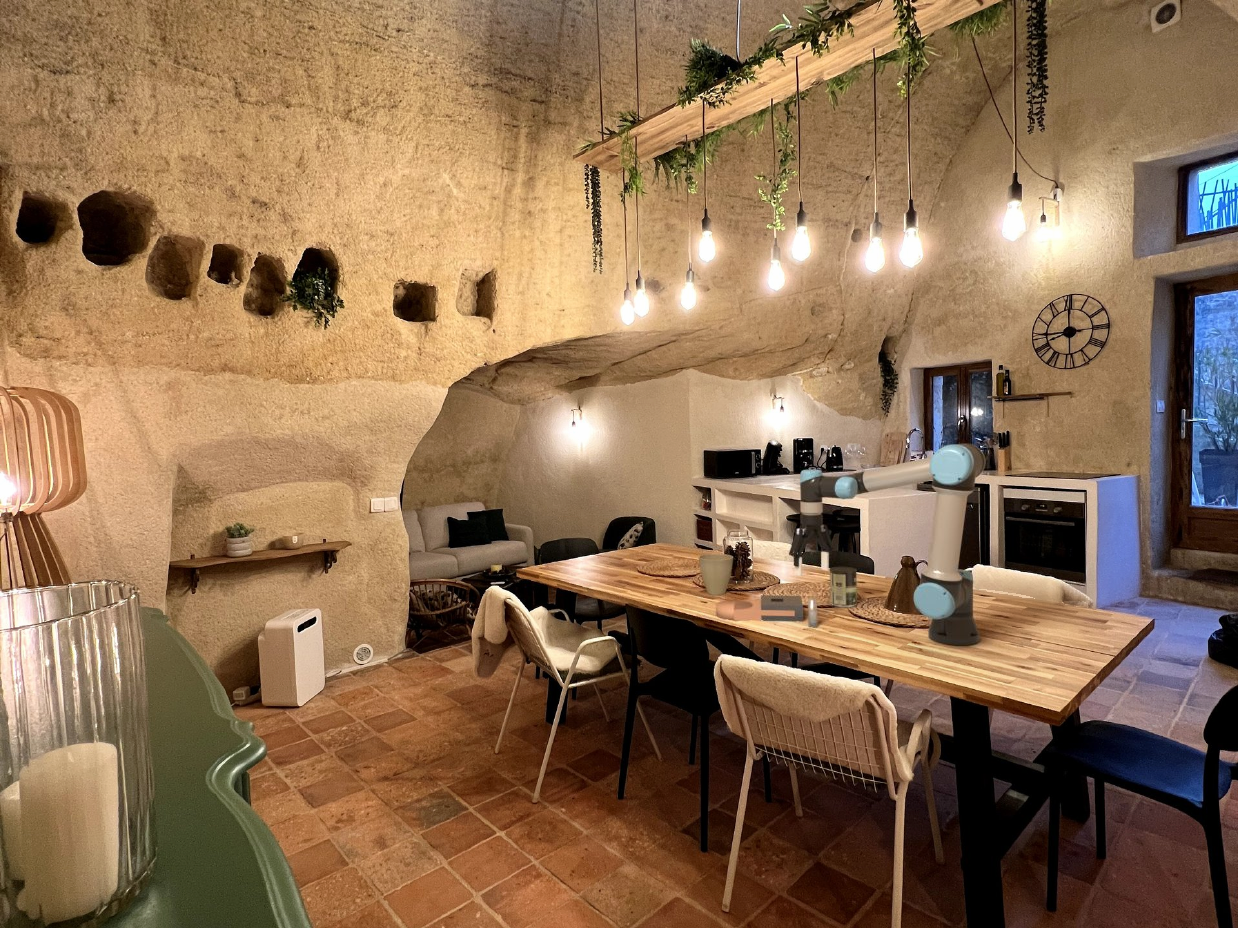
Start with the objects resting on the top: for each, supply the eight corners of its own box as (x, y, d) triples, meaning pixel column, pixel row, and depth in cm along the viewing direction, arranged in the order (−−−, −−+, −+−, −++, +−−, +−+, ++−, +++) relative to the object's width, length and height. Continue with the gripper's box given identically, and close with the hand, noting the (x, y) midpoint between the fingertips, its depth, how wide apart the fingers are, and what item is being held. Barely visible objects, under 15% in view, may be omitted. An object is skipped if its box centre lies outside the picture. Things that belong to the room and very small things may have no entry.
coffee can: (855, 600, 279) (854, 566, 278) (859, 607, 268) (858, 571, 268) (828, 600, 281) (828, 566, 280) (831, 607, 271) (830, 571, 270)
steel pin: (817, 627, 244) (817, 599, 244) (808, 627, 245) (808, 599, 244) (816, 625, 247) (816, 597, 247) (808, 625, 248) (807, 597, 247)
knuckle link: (794, 621, 253) (794, 610, 253) (715, 619, 259) (714, 609, 259) (793, 611, 267) (792, 600, 267) (717, 609, 273) (717, 599, 273)
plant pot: (726, 598, 289) (724, 561, 289) (693, 595, 297) (692, 558, 296) (739, 590, 302) (738, 554, 301) (708, 587, 310) (707, 552, 309)
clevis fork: (803, 621, 253) (802, 605, 252) (761, 620, 256) (760, 604, 255) (801, 611, 266) (800, 595, 266) (761, 610, 269) (761, 595, 269)
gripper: (827, 509, 255) (827, 566, 256) (778, 515, 241) (778, 575, 243) (843, 511, 248) (843, 569, 250) (794, 517, 235) (794, 579, 236)
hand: (811, 572), depth 246 cm, fingers open, 13 cm apart
